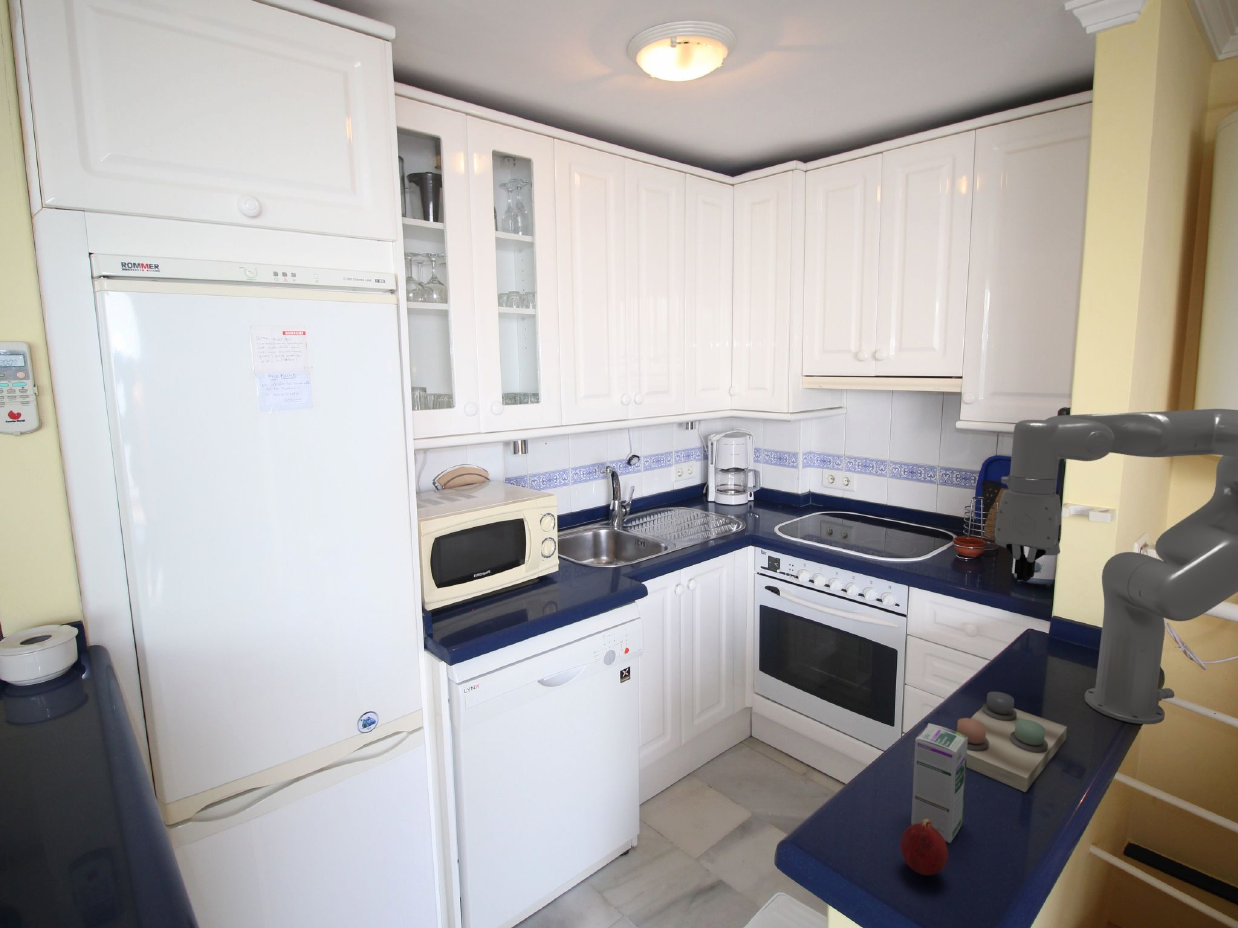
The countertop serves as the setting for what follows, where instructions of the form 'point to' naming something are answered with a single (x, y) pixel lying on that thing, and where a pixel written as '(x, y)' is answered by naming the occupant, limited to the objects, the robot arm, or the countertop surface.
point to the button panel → (1012, 748)
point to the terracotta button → (972, 730)
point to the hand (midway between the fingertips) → (1023, 579)
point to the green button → (1029, 732)
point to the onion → (924, 848)
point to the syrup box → (939, 779)
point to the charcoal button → (1000, 702)
